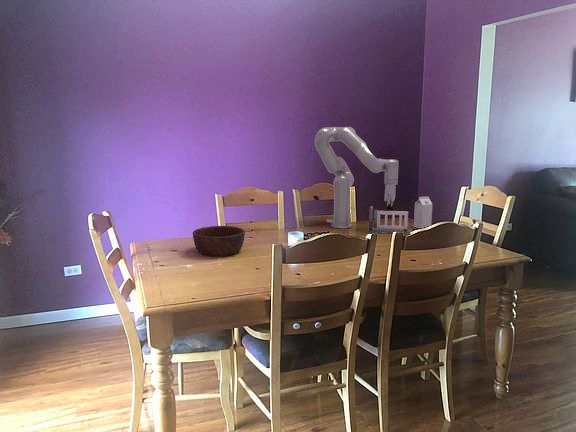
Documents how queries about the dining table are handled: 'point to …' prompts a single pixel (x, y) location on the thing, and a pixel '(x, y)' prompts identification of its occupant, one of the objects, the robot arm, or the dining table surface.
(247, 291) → the dining table surface
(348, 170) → the robot arm
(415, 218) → the milk carton
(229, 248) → the wooden bowl
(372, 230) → the gate base
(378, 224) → the gate
